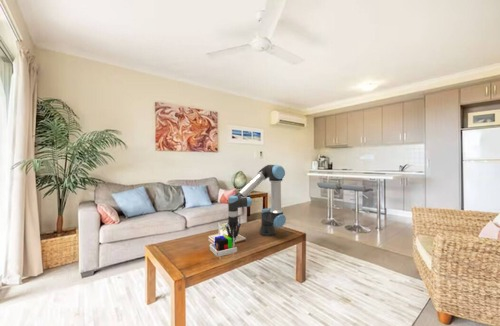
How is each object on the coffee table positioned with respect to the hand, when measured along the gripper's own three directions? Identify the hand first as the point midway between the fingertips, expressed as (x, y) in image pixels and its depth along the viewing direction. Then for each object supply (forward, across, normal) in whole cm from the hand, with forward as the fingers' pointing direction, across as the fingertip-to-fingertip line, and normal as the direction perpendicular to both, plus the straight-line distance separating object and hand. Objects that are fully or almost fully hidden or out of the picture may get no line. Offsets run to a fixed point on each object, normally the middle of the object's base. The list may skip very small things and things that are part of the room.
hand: (233, 245), depth 171 cm
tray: (+2, +8, 0) cm, 9 cm away
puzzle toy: (+2, +9, +1) cm, 9 cm away
